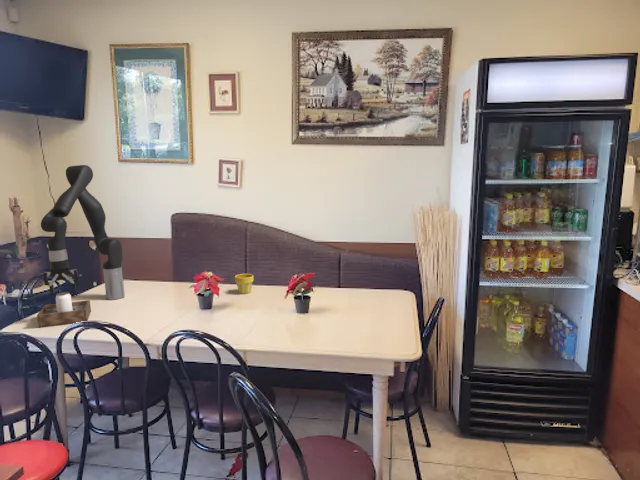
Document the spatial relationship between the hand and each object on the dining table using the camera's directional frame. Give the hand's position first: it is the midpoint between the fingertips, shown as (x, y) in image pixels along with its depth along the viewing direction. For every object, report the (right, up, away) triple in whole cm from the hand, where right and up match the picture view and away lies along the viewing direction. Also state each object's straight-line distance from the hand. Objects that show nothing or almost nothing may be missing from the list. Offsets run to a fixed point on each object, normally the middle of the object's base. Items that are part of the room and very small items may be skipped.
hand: (63, 291), depth 215 cm
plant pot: (+80, -5, +42) cm, 90 cm away
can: (0, -13, +2) cm, 13 cm away
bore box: (0, -14, +2) cm, 14 cm away
